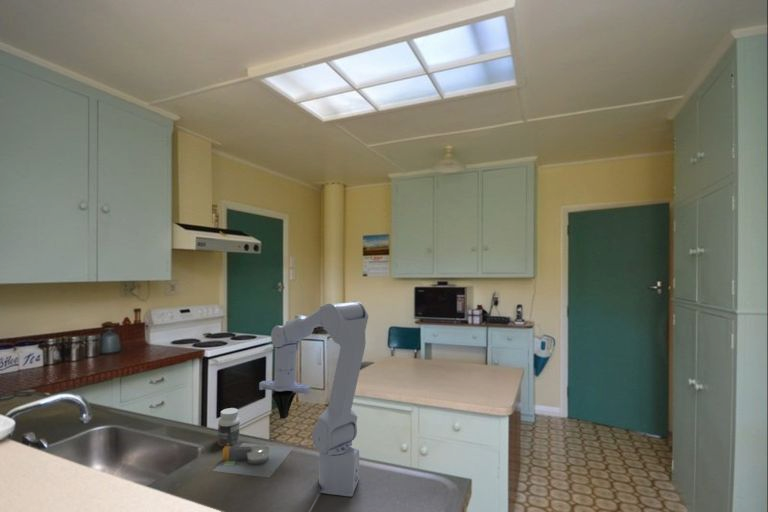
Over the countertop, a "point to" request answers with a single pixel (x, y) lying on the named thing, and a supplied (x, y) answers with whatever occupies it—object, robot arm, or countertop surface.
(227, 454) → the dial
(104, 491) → the countertop surface
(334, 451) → the robot arm
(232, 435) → the pill bottle
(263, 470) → the board
